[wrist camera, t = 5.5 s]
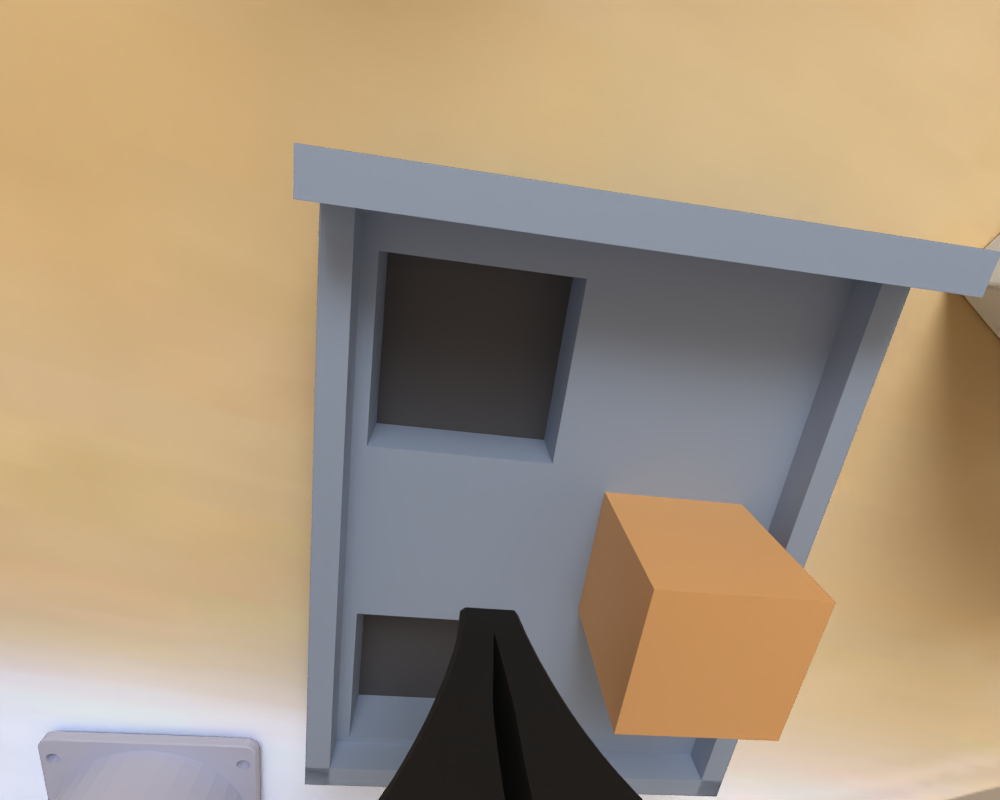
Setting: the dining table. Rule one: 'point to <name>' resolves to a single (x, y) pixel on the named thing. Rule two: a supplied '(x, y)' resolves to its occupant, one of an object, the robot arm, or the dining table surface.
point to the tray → (558, 417)
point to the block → (697, 619)
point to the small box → (990, 295)
